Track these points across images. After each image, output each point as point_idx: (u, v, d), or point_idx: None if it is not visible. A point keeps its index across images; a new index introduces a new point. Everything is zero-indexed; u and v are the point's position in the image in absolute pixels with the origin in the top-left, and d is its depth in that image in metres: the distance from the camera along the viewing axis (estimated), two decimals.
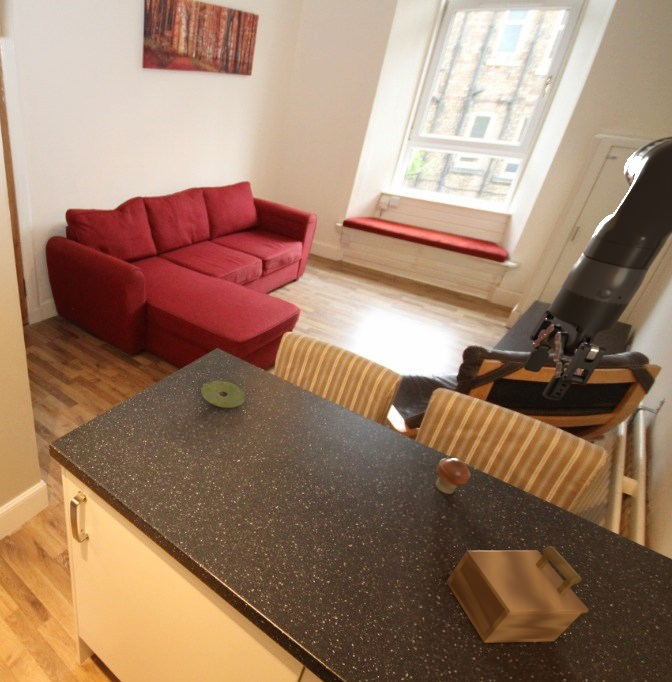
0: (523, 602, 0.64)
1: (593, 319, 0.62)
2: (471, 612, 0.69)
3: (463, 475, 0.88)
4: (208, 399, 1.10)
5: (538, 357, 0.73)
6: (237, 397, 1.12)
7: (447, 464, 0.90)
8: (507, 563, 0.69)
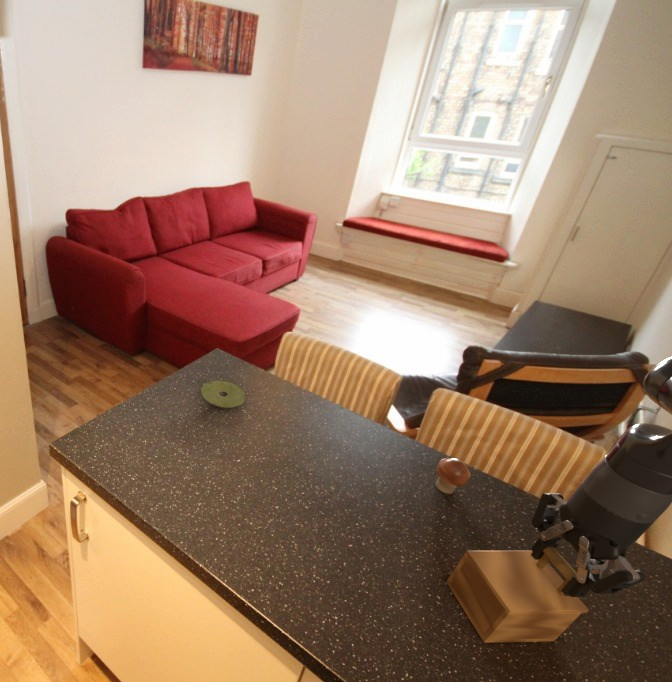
0: (523, 602, 0.64)
1: (630, 537, 0.57)
2: (471, 612, 0.69)
3: (463, 475, 0.88)
4: (208, 399, 1.10)
5: None
6: (237, 397, 1.12)
7: (447, 464, 0.90)
8: (507, 563, 0.69)
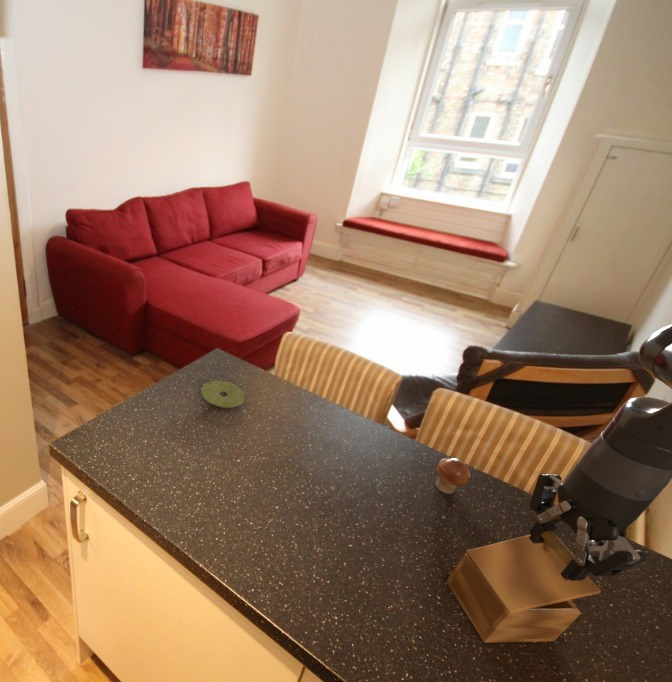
0: (524, 597, 0.63)
1: (629, 515, 0.54)
2: (471, 612, 0.69)
3: (463, 475, 0.88)
4: (208, 399, 1.10)
5: None
6: (237, 397, 1.12)
7: (447, 464, 0.90)
8: (510, 555, 0.68)
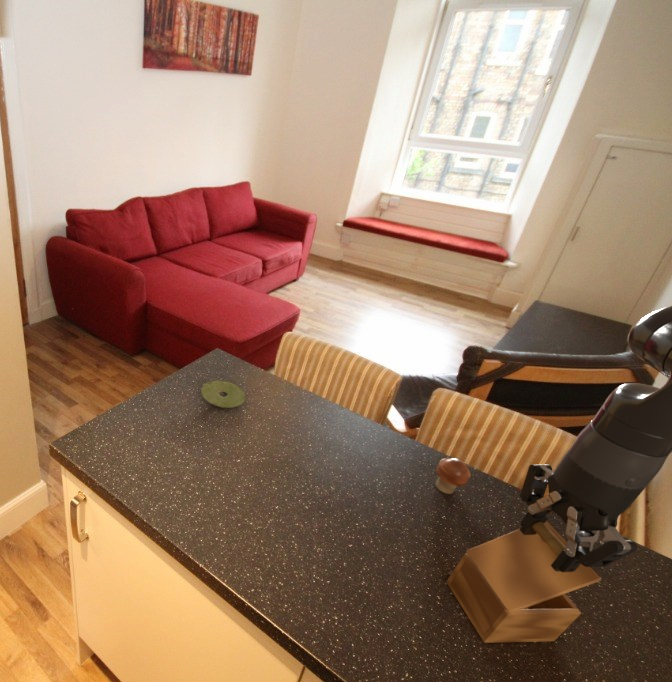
0: (523, 595, 0.63)
1: (619, 505, 0.53)
2: (471, 612, 0.69)
3: (463, 475, 0.88)
4: (208, 399, 1.10)
5: None
6: (237, 397, 1.12)
7: (447, 464, 0.90)
8: (508, 550, 0.67)
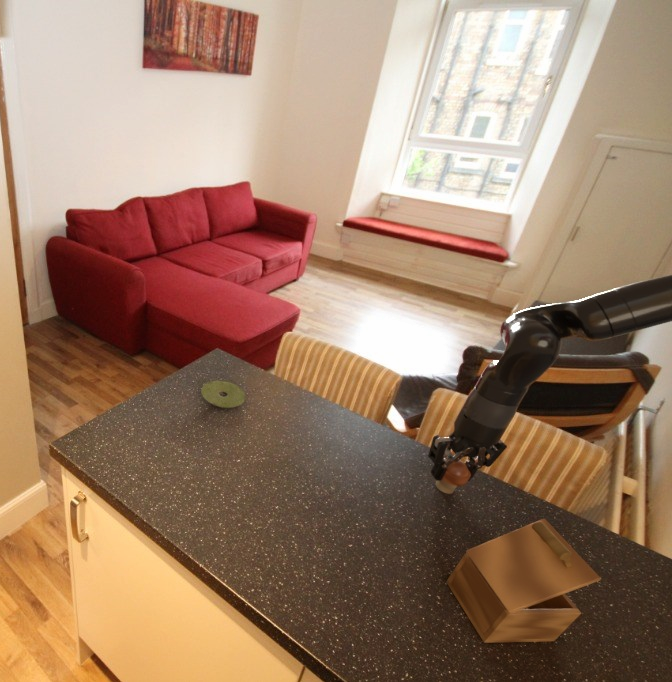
0: (523, 595, 0.63)
1: None
2: (471, 612, 0.69)
3: (463, 475, 0.88)
4: (208, 399, 1.10)
5: None
6: (237, 397, 1.12)
7: None
8: (508, 550, 0.67)
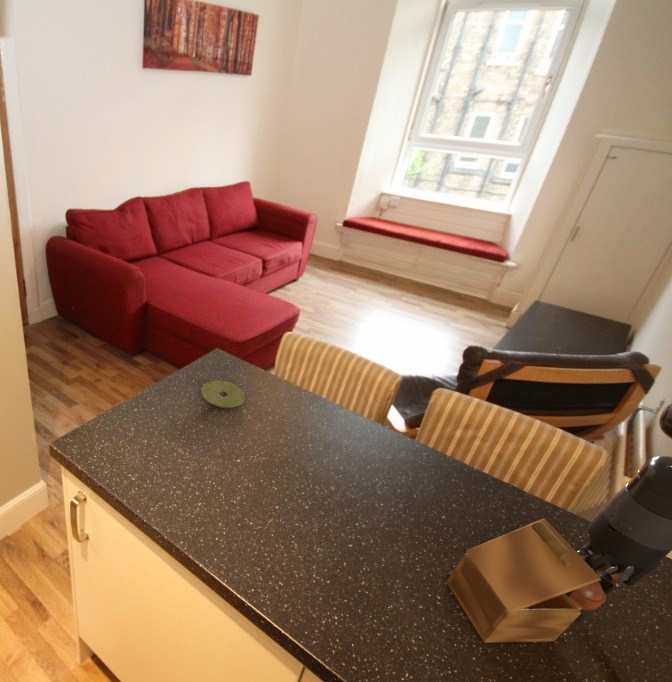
0: (523, 595, 0.63)
1: None
2: (471, 612, 0.69)
3: (597, 597, 0.67)
4: (208, 399, 1.10)
5: None
6: (237, 397, 1.12)
7: None
8: (508, 550, 0.67)
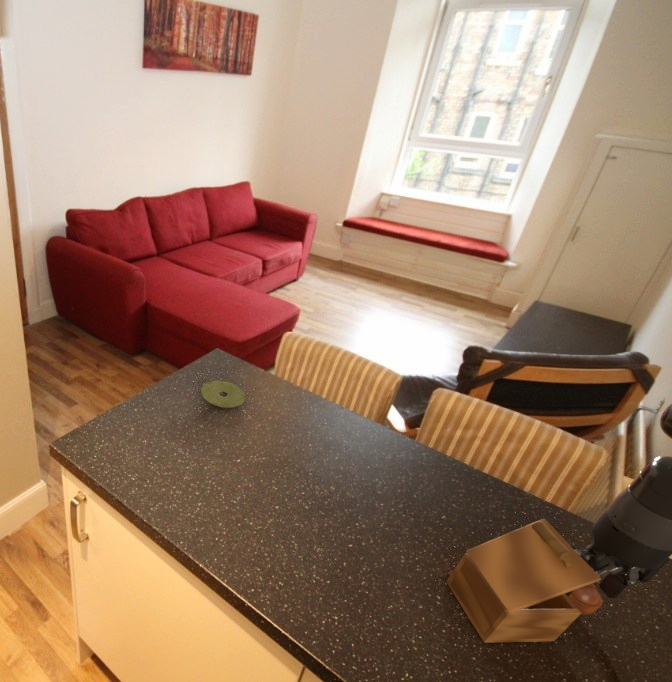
0: (523, 595, 0.63)
1: None
2: (471, 612, 0.69)
3: (593, 602, 0.67)
4: (208, 399, 1.10)
5: None
6: (237, 397, 1.12)
7: None
8: (508, 550, 0.67)
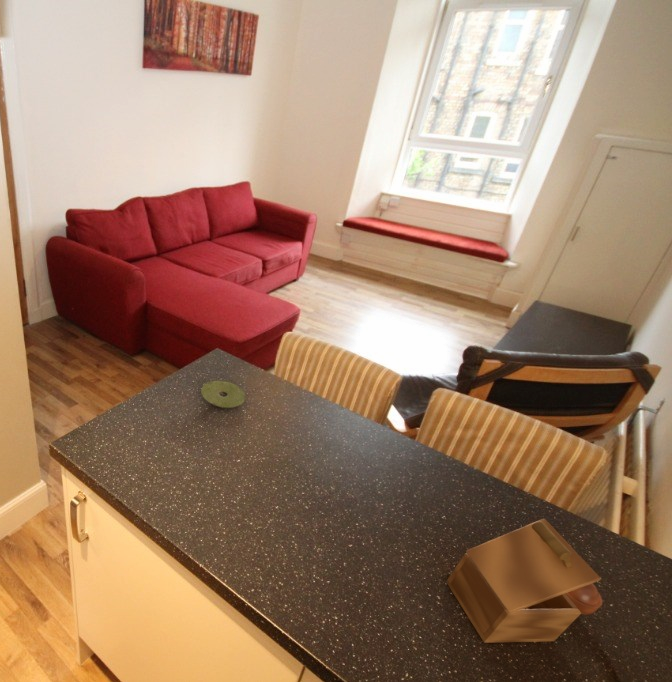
0: (523, 595, 0.63)
1: None
2: (471, 612, 0.69)
3: (593, 602, 0.67)
4: (208, 399, 1.10)
5: None
6: (237, 397, 1.12)
7: None
8: (508, 550, 0.67)
